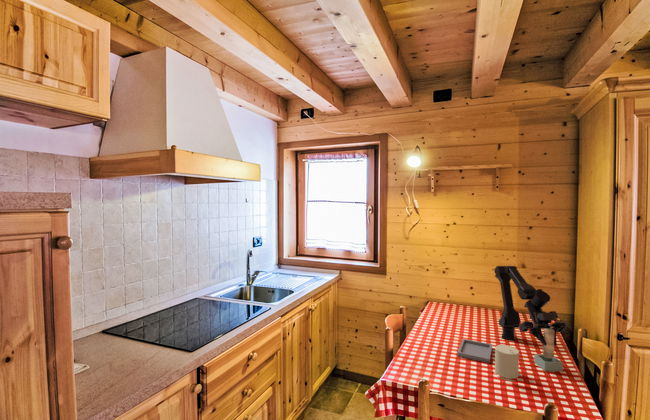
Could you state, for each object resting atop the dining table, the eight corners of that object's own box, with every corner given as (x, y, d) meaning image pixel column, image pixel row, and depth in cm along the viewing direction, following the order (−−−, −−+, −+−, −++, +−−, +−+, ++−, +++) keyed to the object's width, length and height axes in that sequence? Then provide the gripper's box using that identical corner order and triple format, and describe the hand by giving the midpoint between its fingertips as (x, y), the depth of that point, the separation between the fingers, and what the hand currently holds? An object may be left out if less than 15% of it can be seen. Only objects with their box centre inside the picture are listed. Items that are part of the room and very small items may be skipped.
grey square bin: (534, 365, 152) (534, 354, 152) (551, 365, 152) (551, 354, 152) (544, 373, 145) (544, 362, 144) (562, 374, 144) (562, 362, 144)
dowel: (542, 353, 151) (543, 327, 150) (553, 355, 149) (553, 329, 148) (543, 357, 147) (543, 330, 147) (554, 359, 145) (554, 332, 145)
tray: (462, 342, 176) (462, 338, 176) (492, 348, 169) (492, 344, 169) (457, 356, 161) (457, 352, 161) (489, 363, 154) (489, 359, 154)
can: (506, 382, 138) (506, 354, 137) (489, 371, 146) (490, 345, 146) (524, 379, 140) (524, 351, 140) (506, 368, 149) (507, 342, 149)
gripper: (523, 304, 151) (537, 338, 141) (564, 304, 151) (582, 338, 140) (513, 314, 160) (526, 347, 149) (553, 315, 159) (568, 348, 148)
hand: (550, 345), depth 146 cm, fingers closed on dowel, 4 cm apart
